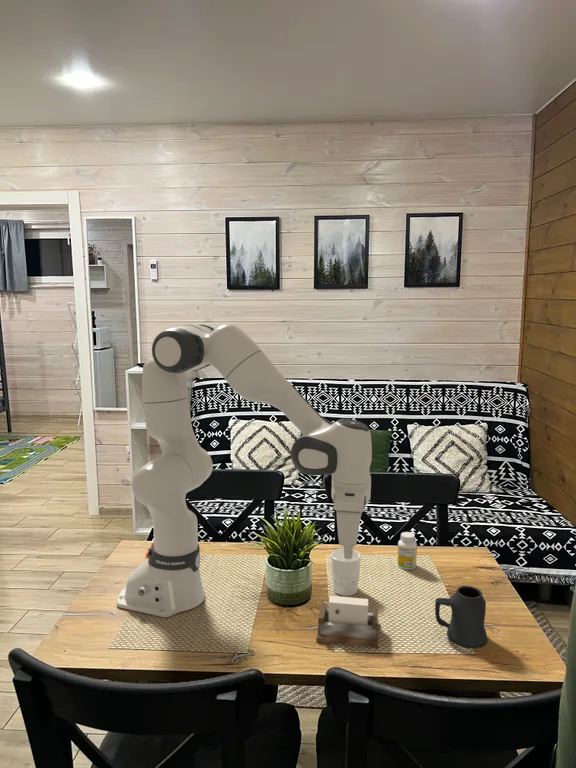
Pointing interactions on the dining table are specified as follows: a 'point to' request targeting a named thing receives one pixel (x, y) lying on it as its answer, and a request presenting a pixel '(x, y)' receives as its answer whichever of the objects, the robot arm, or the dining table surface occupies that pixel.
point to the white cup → (345, 572)
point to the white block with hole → (348, 610)
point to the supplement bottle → (407, 551)
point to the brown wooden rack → (347, 630)
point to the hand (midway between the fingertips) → (349, 548)
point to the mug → (465, 617)
